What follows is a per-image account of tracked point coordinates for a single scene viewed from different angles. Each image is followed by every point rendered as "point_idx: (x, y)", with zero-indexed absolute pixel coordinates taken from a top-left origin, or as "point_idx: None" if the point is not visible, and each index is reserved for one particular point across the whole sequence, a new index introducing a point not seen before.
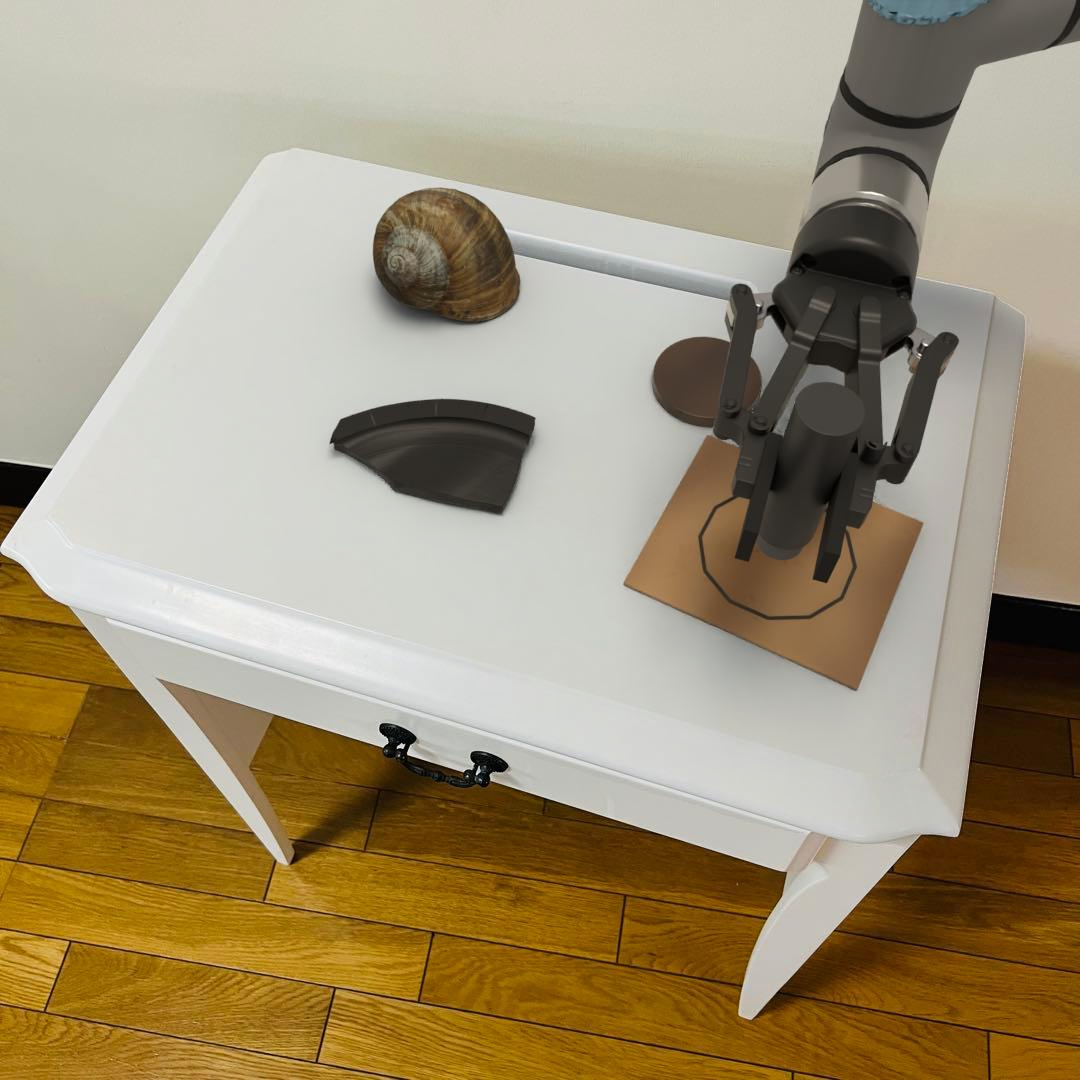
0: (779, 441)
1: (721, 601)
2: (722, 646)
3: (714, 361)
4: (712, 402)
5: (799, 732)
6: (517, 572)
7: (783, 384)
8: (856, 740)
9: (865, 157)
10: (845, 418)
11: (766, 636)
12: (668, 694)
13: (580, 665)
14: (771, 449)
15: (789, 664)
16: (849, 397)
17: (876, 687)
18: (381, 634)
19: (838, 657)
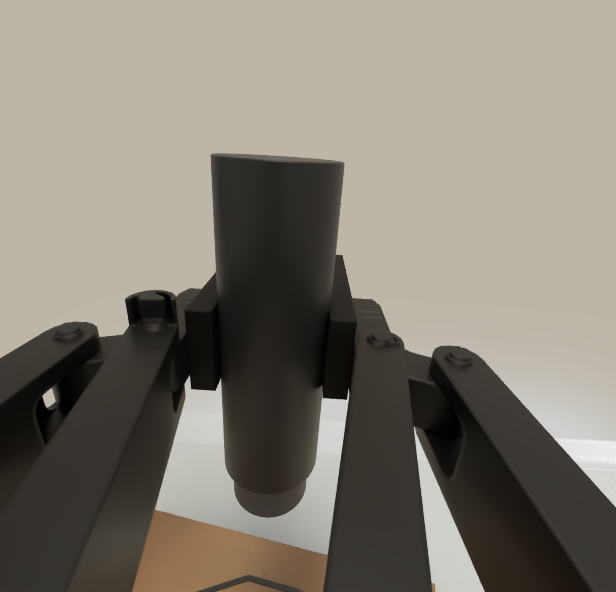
0: (333, 312)
1: (310, 589)
2: (297, 530)
3: None
4: None
5: (219, 462)
6: None
7: (370, 420)
8: (167, 466)
9: None
10: (250, 155)
11: (250, 548)
12: (336, 470)
13: (419, 478)
14: (342, 303)
15: (223, 527)
16: (240, 156)
17: None
18: (582, 468)
19: (166, 542)
